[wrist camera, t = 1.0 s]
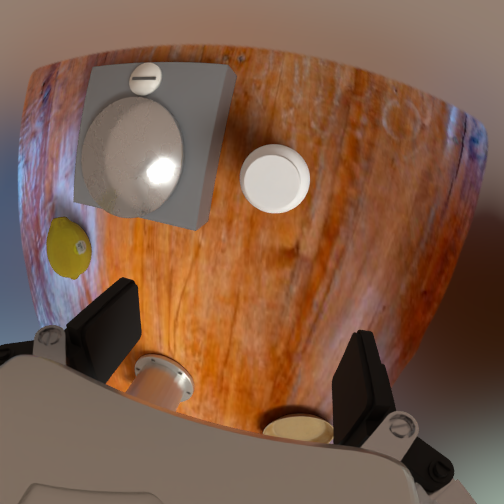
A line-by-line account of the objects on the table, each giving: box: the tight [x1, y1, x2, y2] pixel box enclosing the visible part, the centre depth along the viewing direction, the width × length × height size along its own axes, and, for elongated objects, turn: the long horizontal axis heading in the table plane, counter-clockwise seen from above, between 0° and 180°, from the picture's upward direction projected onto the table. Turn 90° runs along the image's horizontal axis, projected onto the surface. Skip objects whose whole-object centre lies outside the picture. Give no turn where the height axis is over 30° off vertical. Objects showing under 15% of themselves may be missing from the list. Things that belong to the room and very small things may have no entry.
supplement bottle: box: [240, 144, 310, 213], centre depth 28 cm, size 7×7×13 cm
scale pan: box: [81, 97, 185, 218], centre depth 30 cm, size 15×15×1 cm
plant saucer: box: [263, 413, 333, 444], centre depth 49 cm, size 15×15×3 cm
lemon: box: [47, 217, 92, 280], centre depth 39 cm, size 11×8×8 cm
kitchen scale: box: [74, 62, 237, 231], centre depth 32 cm, size 20×20×6 cm
